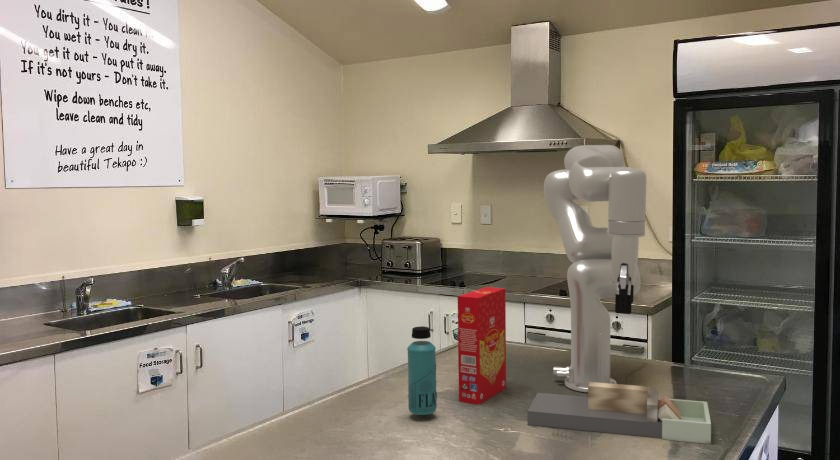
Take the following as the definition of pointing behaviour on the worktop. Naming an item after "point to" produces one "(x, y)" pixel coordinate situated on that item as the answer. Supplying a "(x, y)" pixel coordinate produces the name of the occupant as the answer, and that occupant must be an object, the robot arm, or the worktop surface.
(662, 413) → the tile cream
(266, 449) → the worktop surface
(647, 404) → the scraper
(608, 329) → the robot arm
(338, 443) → the worktop surface
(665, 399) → the tile terracotta
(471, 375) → the food packaging
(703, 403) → the grey platform with tray
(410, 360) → the beverage bottle
